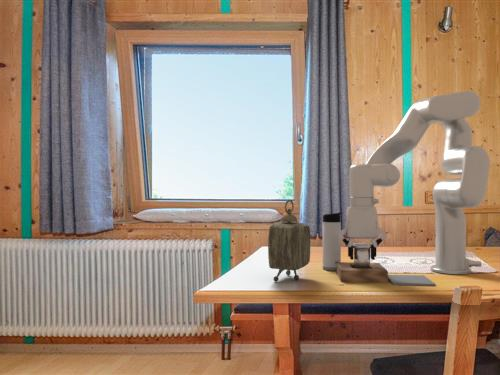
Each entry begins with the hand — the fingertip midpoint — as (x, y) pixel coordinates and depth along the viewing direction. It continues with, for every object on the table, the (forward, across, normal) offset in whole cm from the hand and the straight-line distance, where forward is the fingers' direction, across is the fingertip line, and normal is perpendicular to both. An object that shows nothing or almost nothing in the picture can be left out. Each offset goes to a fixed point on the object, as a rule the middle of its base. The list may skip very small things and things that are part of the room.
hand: (362, 258), depth 140 cm
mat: (+6, -14, +4) cm, 15 cm away
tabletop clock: (+6, +23, +5) cm, 24 cm away
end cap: (+4, 0, 0) cm, 4 cm away
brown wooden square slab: (+6, 0, 0) cm, 6 cm away
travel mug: (+6, +8, -13) cm, 17 cm away
